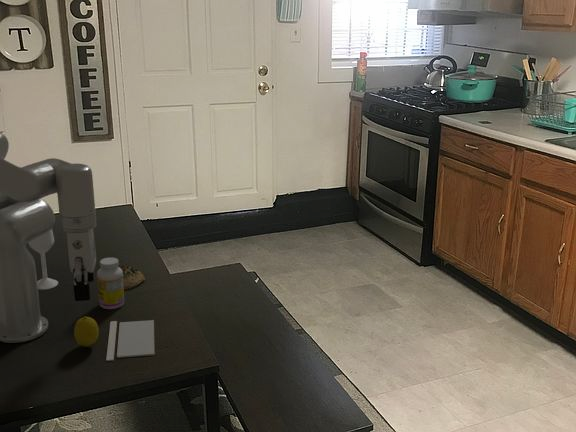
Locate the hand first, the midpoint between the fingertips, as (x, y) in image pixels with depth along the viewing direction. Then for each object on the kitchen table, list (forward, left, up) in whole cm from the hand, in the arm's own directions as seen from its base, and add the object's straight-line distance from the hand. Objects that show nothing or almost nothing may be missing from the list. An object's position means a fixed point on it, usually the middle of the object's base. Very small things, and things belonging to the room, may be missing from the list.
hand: (84, 290), depth 143 cm
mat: (+11, +2, -15) cm, 19 cm away
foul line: (+5, +2, -15) cm, 16 cm away
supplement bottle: (+4, +21, -15) cm, 26 cm away
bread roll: (+7, +35, -15) cm, 39 cm away
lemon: (0, 0, -15) cm, 15 cm away
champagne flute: (-15, +36, -15) cm, 42 cm away
